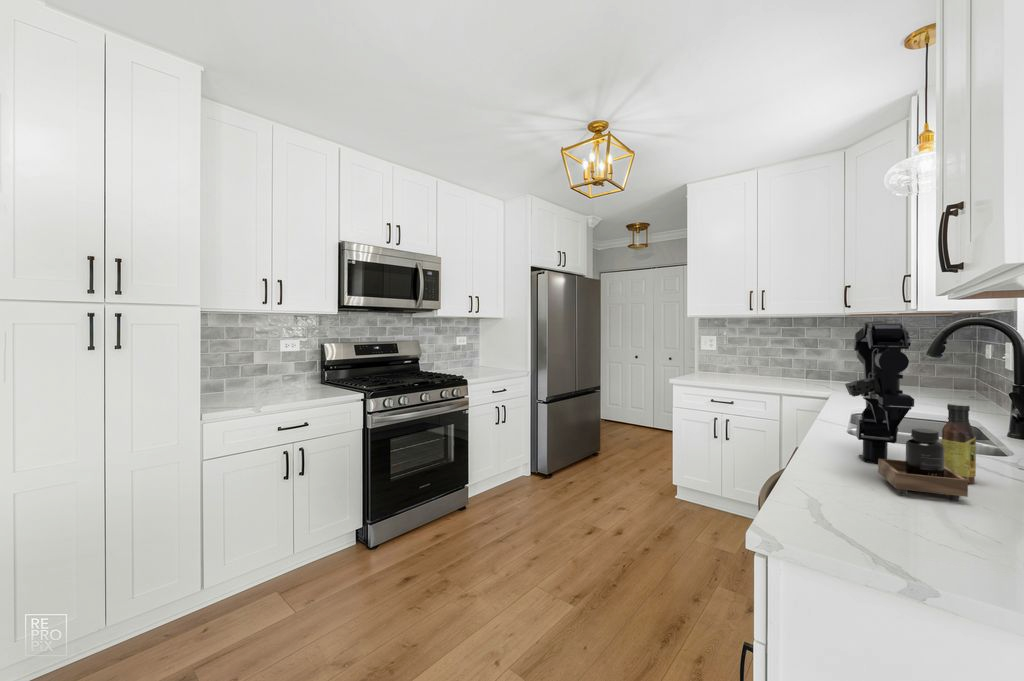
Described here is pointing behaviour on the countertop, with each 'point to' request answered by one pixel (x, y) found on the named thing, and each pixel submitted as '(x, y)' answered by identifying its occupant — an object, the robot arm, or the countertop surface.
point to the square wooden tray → (922, 480)
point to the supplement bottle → (924, 453)
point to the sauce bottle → (959, 442)
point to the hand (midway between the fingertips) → (885, 427)
